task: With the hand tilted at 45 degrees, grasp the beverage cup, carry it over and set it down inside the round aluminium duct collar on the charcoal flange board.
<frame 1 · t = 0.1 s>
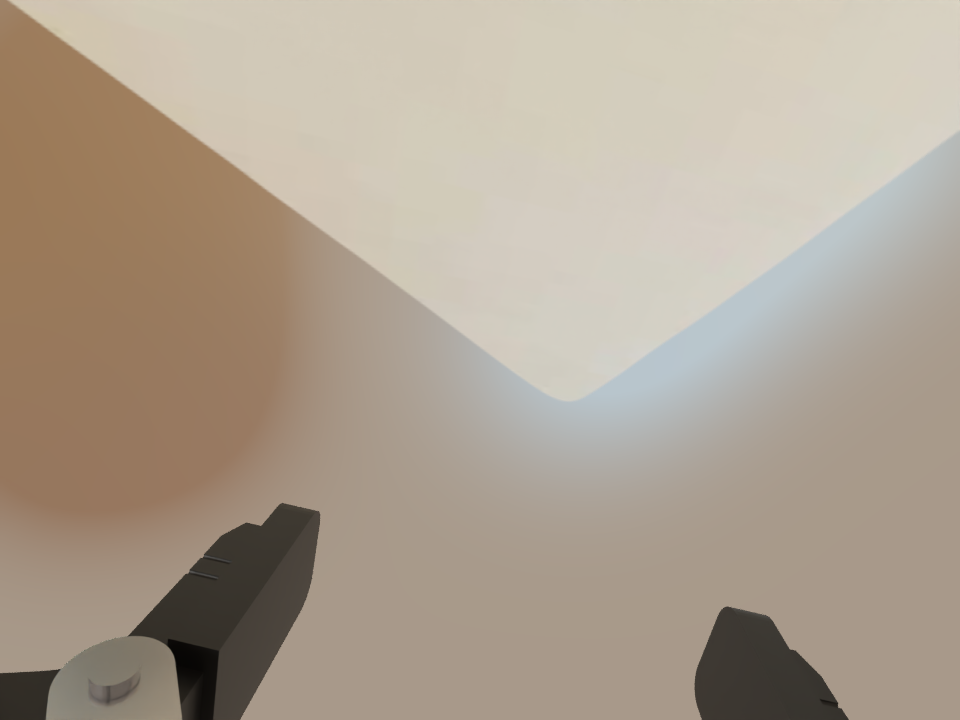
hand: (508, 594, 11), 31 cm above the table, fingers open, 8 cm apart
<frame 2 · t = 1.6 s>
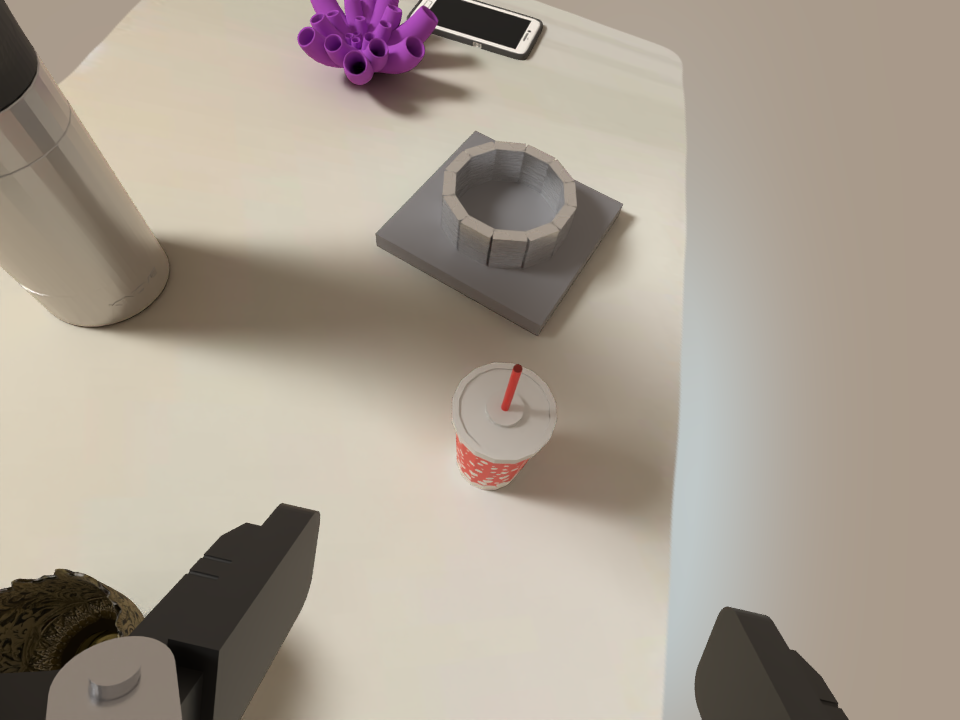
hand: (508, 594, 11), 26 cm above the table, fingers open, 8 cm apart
purple tube coral: (370, 70, 59), on the table
beverage cup: (488, 459, 39), on the table
cell phone: (475, 30, 65), on the table
duct collar: (507, 203, 47), on the flange board, point 3 cm above the table
cup: (116, 656, 32), on the table
flange board: (502, 229, 49), on the table
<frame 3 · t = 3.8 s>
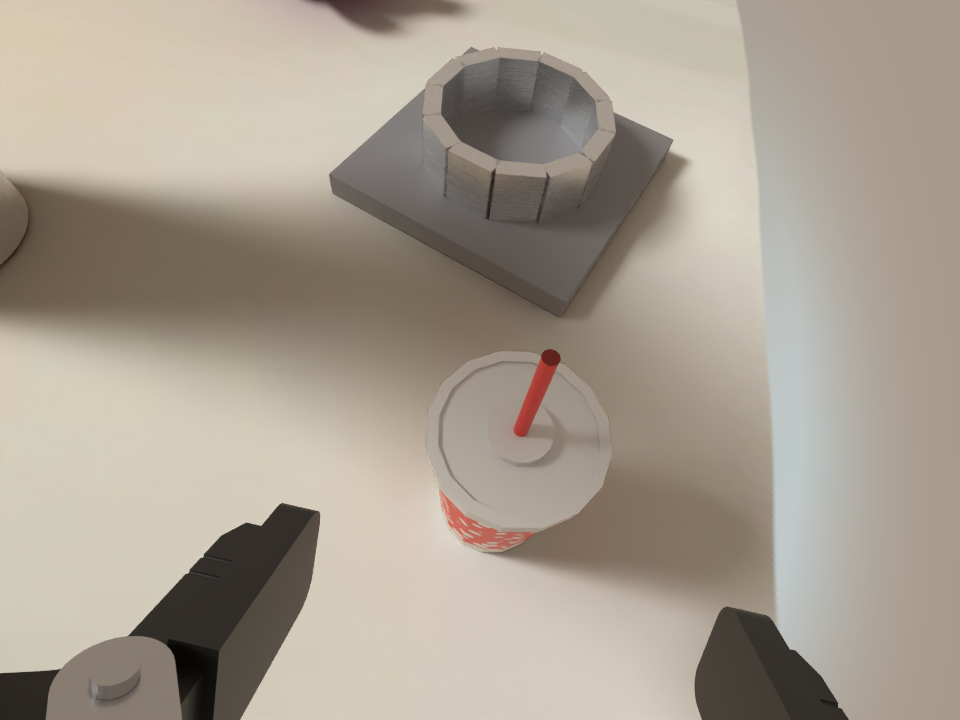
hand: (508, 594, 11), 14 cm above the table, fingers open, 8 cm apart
beverage cup: (490, 502, 26), on the table
duct collar: (515, 132, 33), on the flange board, point 3 cm above the table
flange board: (508, 174, 36), on the table
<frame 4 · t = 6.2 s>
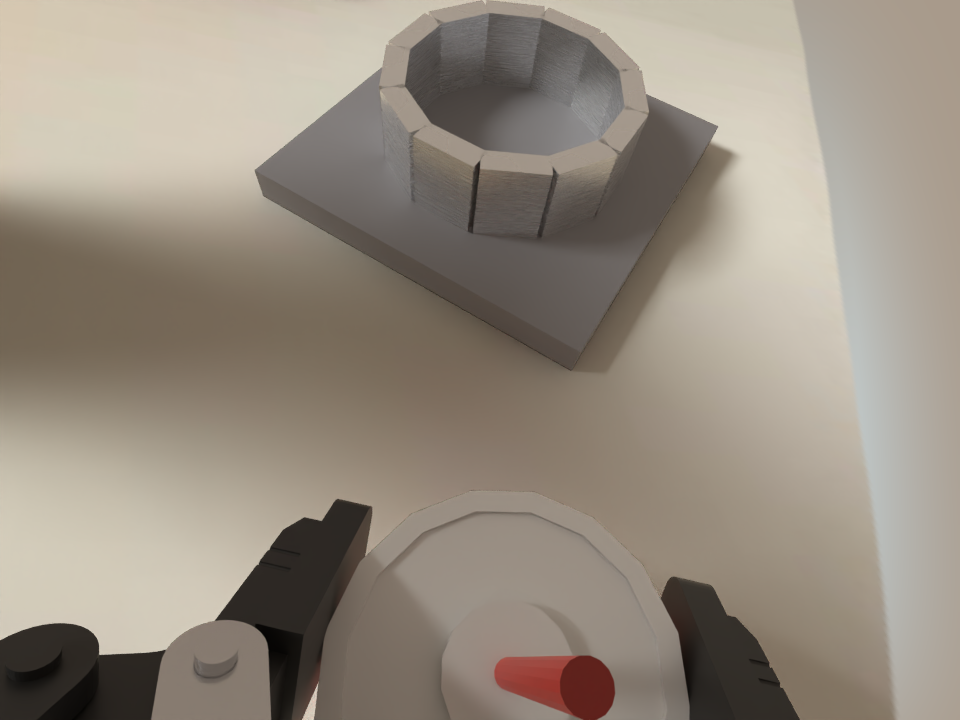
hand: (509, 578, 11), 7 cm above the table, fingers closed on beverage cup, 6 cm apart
beverage cup: (467, 666, 17), on the table, touching gripper
duct collar: (510, 114, 24), on the flange board, point 3 cm above the table
flange board: (501, 171, 27), on the table
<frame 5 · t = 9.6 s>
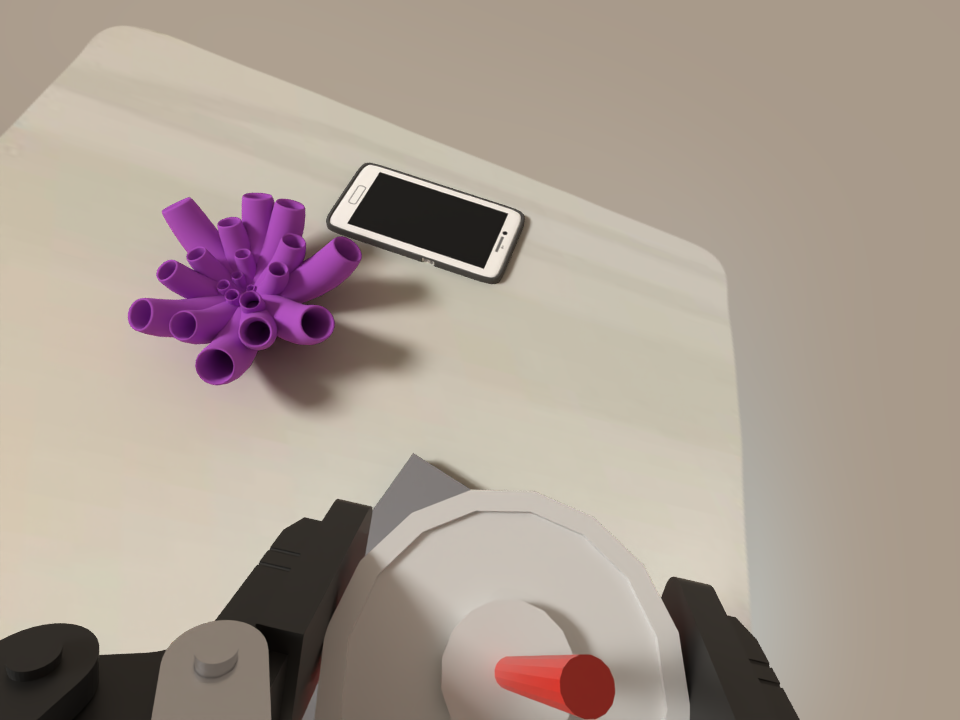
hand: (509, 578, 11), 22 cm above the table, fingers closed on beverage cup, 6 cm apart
purple tube coral: (265, 318, 39), on the table
beverage cup: (467, 666, 17), point 15 cm above the table, touching gripper
cell phone: (427, 227, 45), on the table
flange board: (451, 657, 30), on the table
when the fingers open (10 cm above the table, at t = 13.0 s): beverage cup drops 1 cm, resting on flange board.
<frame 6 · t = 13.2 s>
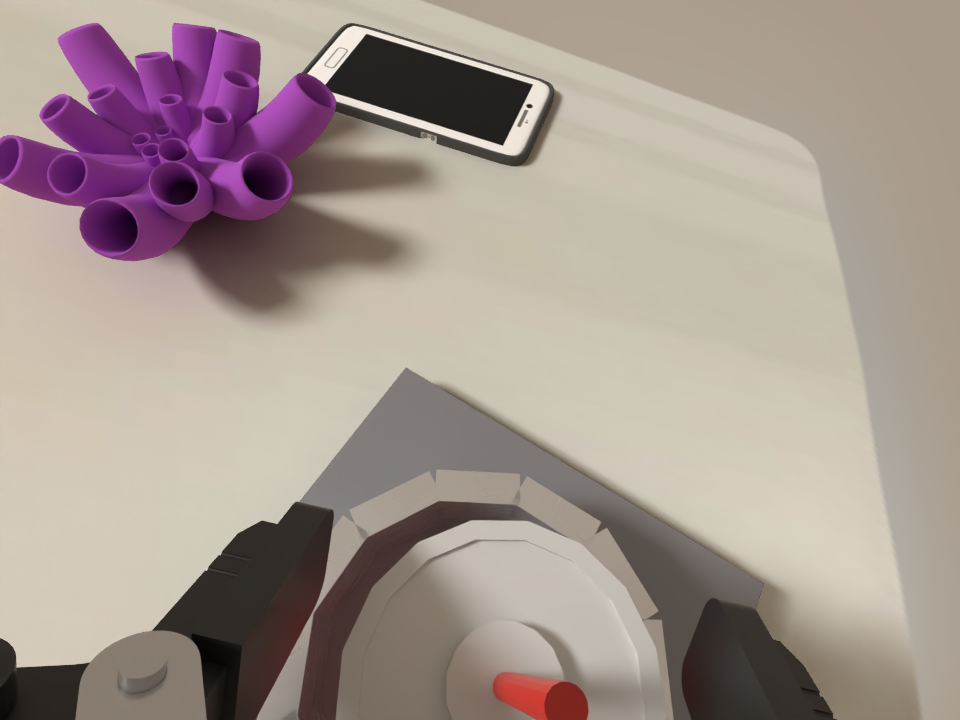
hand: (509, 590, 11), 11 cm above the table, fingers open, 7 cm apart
purple tube coral: (206, 199, 29), on the table
beverage cup: (468, 673, 18), point 1 cm above the table, touching flange board
cell phone: (428, 102, 35), on the table
duct collar: (468, 666, 17), on the flange board, point 3 cm above the table
flange board: (462, 665, 19), on the table
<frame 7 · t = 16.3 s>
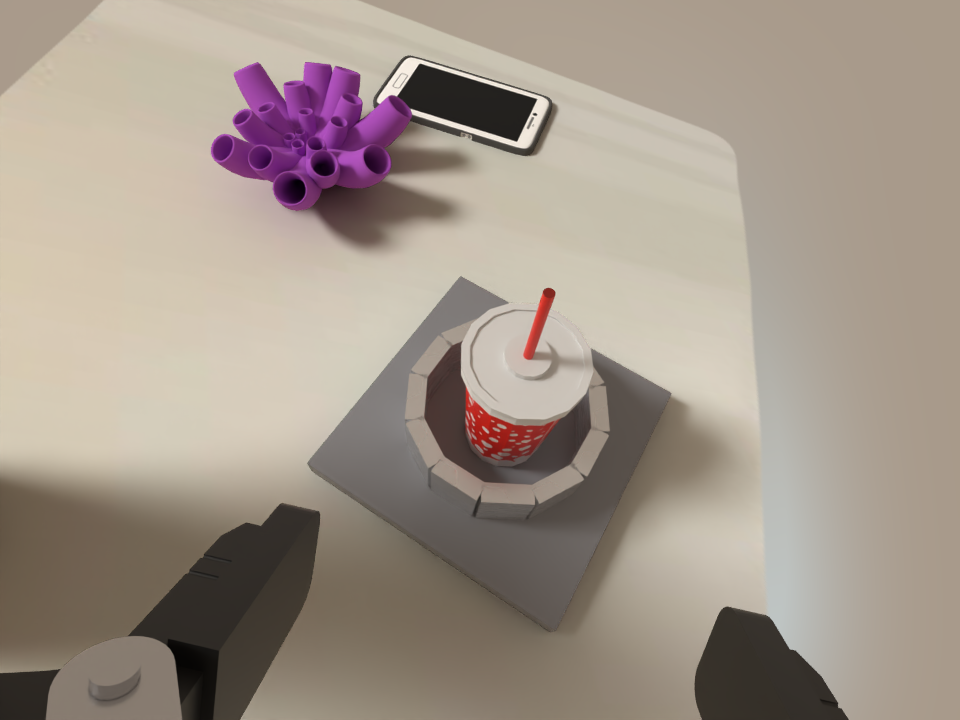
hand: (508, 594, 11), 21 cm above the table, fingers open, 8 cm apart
purple tube coral: (322, 177, 44), on the table
beverage cup: (502, 430, 33), point 1 cm above the table, touching flange board
cell phone: (463, 111, 49), on the table
duct collar: (504, 414, 31), on the flange board, point 3 cm above the table
flange board: (498, 434, 34), on the table
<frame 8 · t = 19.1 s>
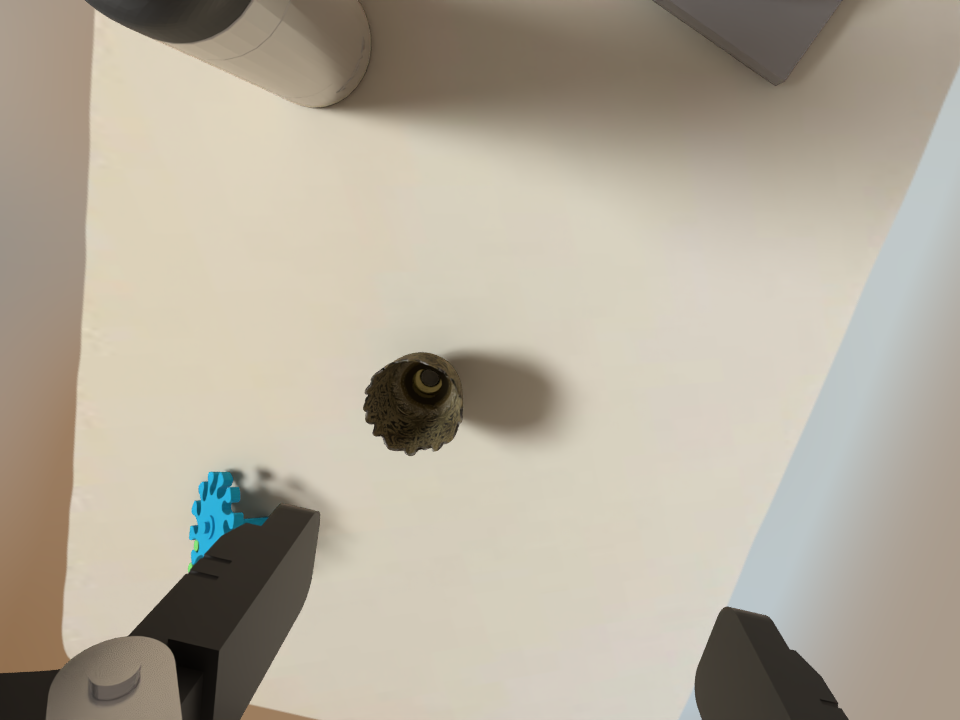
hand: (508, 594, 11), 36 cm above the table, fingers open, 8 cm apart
cup: (430, 376, 48), on the table
blue toy figure: (235, 508, 53), on the table
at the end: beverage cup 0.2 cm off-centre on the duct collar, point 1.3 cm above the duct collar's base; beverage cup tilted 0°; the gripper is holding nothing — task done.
